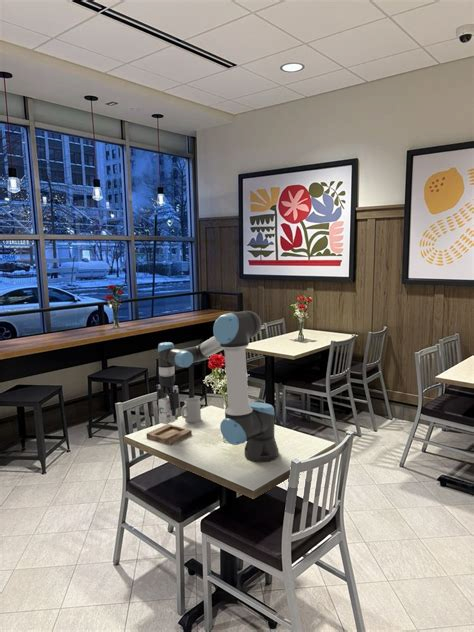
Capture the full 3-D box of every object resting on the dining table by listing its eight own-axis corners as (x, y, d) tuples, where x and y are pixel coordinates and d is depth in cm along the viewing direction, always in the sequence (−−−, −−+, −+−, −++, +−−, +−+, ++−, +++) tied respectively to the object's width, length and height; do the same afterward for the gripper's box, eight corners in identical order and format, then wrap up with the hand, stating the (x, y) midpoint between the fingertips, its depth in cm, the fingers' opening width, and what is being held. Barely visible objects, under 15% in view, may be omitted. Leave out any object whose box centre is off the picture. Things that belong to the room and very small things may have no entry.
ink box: (170, 417, 228) (170, 394, 226) (178, 419, 225) (177, 396, 224) (158, 422, 221) (157, 399, 220) (166, 424, 218) (165, 401, 217)
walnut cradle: (191, 434, 226) (191, 430, 225) (170, 445, 214) (170, 440, 213) (168, 427, 235) (168, 423, 235) (146, 437, 223) (146, 433, 223)
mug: (193, 416, 252) (192, 396, 250) (204, 419, 246) (203, 399, 245) (176, 422, 243) (176, 402, 241) (187, 425, 237) (187, 405, 236)
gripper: (186, 375, 218) (187, 421, 221) (159, 370, 228) (160, 414, 231) (175, 379, 212) (176, 426, 215) (148, 373, 222) (150, 419, 225)
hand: (168, 420), depth 223 cm, fingers closed on ink box, 5 cm apart
